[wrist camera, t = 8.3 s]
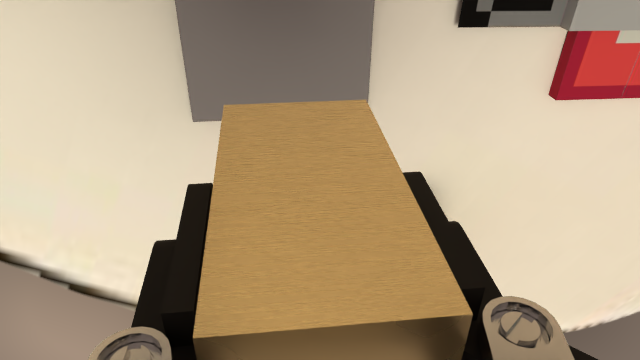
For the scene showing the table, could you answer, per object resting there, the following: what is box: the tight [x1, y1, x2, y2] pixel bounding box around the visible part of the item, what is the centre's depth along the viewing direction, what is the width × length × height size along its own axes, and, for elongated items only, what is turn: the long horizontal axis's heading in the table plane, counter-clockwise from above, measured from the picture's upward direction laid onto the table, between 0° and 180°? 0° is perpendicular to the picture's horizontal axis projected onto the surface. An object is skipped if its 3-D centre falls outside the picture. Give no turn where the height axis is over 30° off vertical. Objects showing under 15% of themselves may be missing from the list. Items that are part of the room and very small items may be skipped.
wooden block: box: [193, 100, 473, 360], centre depth 11 cm, size 4×4×8 cm
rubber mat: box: [175, 0, 374, 122], centre depth 28 cm, size 11×11×1 cm
